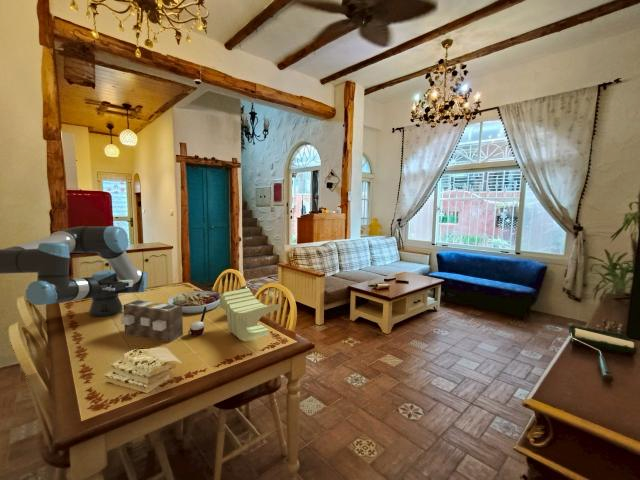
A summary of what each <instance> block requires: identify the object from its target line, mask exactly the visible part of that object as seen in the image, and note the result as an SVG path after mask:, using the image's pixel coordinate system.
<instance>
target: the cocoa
mask: <svg viewBox="0 0 640 480" xmlns="http://www.w3.org/2000/svg"><path fill="white" fill-rule="evenodd" d="M206 309H207V307H204V310H203V312H202V314H201V317H200V321H195V322H192V323H191V324H189V330H188V332H187V334H188V335H190V336H194V337H199V336H201V335H202V334H204V331H205V322H204V321H205V320H204V318H205V315H206V312H207V311H206Z"/></svg>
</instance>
